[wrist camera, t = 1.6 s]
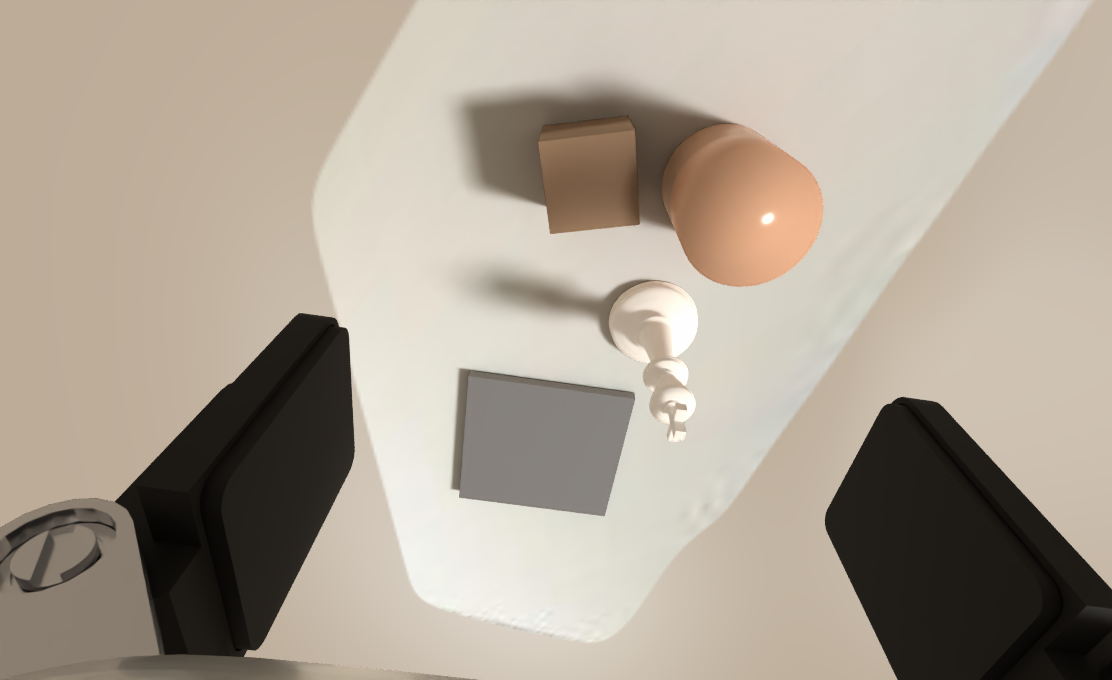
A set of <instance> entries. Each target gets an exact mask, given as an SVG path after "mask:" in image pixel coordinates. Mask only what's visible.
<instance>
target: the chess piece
mask: <svg viewBox="0 0 1112 680" xmlns="http://www.w3.org/2000/svg"><path fill="white" fill-rule="evenodd" d="M697 327H698V318H697V310H696V306H695V304H694V302H693V300H692V299H691V297H690V296H689V295H688V294H687V293H686V292H685V291H684V290H683V289H681V288H680V287H678V286H676V285H674V284H671V283H667V282H661V281H650V282H645V283H641V284H638V285H635V286H633V287H631V288H630V289H628V290H627V291H625V292H624V293H623V294H622V295H621V296H620V297H619V298H618V299H617V300H616V302H615V303H614V305H613V307H612V309H611V312H610V316H609V329H610V333H611V336H612V338H613V341H614V343H615V344H616V346H617V347H618V349H619V350H620V351H621V352H622V353H623V354H625V355H626V356H628V357H629V358H631V359H633V360H636V361H639V362H644V363H649V364H648V365H647V366H646V368H645V370H644V372H643V380H644V383H645V385H646V386H647V387H648V389H649V390H650V391H652V392H653V394H652V396H651V399H650V411H651V413H652V415H653V416H654V417H655V418H656V419H657V420H658V421H660V422H663V423H666V424H670V425H669V428H668V432H667V437H668V441H674V442H678V441H679V440H684V439H685V435H686V428H685V424H684V421H685V420H686V419H688V418H689V417H690V416H691V415H692V414H693V412H694V410H695V406H696V401H695V397H694V395H693V394H692V392H691V391H690V390H689V389H688V388H687V387H686V386H685V384H686V382H687V379H688V369H687V367H686V365H685V364H684V363H683V362H682V361H681V360H680V359H678V358H675V357H676V356H678V355H680V354H681V353H682V352H683V351H685V350H686V349H687V348H688V346H689V345H690V344H691V342H692V341H693V339H694V337H695V335H696V332H697Z"/></svg>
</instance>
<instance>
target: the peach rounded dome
mask: <svg viewBox="0 0 1112 680" xmlns="http://www.w3.org/2000/svg"><path fill="white" fill-rule="evenodd" d="M662 197H663V201H664V205H665V208H666V210H667V212H668V215H669V217H670V219H671V222H672V224H673V226H674V229H675V231H676V233H677V236H678V238H679V240H680V243H681V245H682V247H683V250H684V252H685V254H686V256H687V258H688V260H689V261H690V263H691V264H692V265H693V267H694V268H695V269H696V270H697V271H698V272H700V273H701V274H702V275H704V276H705V277H706V278H708V279H710V280H712V281H714V282H717V283H720V284H723V285H728V286H737V287H742V286H753V285H758V284H762V283H765V282H768V281H771V280H773V279H775V278H777V277H779V276H781V275H783V274H784V273H786V272H787V271H789V270H790V269H791V268H793V267H794V266H795V265H796V264H797V263H798V262H799V261H800V260H801V259H802V258H803V257H804V256H805V255H806V254H807V252H808V251H809V250H810V248H811V246H812V245H813V243H814V242H815V239H816V237H817V235H818V233H819V230H820V227H821V223H822V217H823V199H822V194H821V190H820V188H819V185H818V183H817V181H816V179H815V178H814V176H813V175H812V173H811V172H810V171H809V170H808V169H807V168H806V167H805V166H804V165H803V164H801V163H800V162H799V161H797V160H796V159H794V158H793V157H792V156H790V155H789V154H787V153H786V152H784V151H783V150H781V149H780V148H779V147H777V146H776V145H774V144H773V143H771V142H770V141H768V140H767V139H766V138H764V137H763V136H761V135H760V134H758V133H757V132H755V131H753V130H752V129H750V128H747V127H745V126H741V125H737V124H718V125H713V126H709V127H706V128H704V129H702V130H699V131H697V132H696V133H694V134H692V135H691V136H689V137H688V138H687V139H686V140H684V141H683V142H682V143H681V144H680V145H679V146H678V148H677V149H676V150H675V151H674V153H673V154H672V156H671V157H670V159H669V161H668V163H667V165H666V168H665V171H664V174H663V180H662Z"/></svg>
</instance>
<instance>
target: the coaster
mask: <svg viewBox="0 0 1112 680" xmlns="http://www.w3.org/2000/svg"><path fill="white" fill-rule="evenodd" d="M634 401H635V395H634V393H630V392H623V391H615V390H608V389H601V388H593V387H586V386H579V385H572V384H564V383H557V382H550V381H542V380H535V379H528V378H521V377H513V376H506V375H499V374H491V373H484V372H477V371H470V373H469V376H468V388H467V401H466V414H465V428H464V441H463V454H462V467H461V481H460V494H459V498H467V499H475V500H483V501H490V502H498V503H506V504H514V505H522V506H529V507H537V508H545V509H553V510H561V511H568V512H576V513H584V514H592V515H600V516H605V512H606V509H607V505H608V501H609V497H610V493H611V489H612V486H613V482H614V478H615V474H616V470H617V466H618V463H619V459H620V455H621V451H622V447H623V443H624V439H625V436H626V432H627V428H628V424H629V420H630V416H631V413H632V409H633V405H634Z"/></svg>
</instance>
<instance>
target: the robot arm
mask: <svg viewBox="0 0 1112 680" xmlns="http://www.w3.org/2000/svg"><path fill="white" fill-rule="evenodd" d="M354 448H355V446H354V426H353V408H352V388H351V367H350V348H349V334H348V330H347V329H346V328H343V327H339V325H338V322H337V320H336V319H335V318H332V317H325V316H318V315H311V314H303V313H299V314H298V315H296V316H295V317H294V318H293V319H292V320H291V322H290V323H289V324H288V325H287V326H286V327H285V328H284V329H283V330H282V331H281V332H280V333H279V334H278V335H277V336H276V337H275V338H274V339H273V341H272V342H271V343H270V344H269V345H268V346H267V347H266V348H265V349H264V350H263V351H262V352H261V353H260V354H259V356H258V357H257V358H256V359H255V360H254V361H253V362H252V363H251V364H250V365H249V366H248V367H247V368H246V369H245V370H244V372H242V373H241V374H240V376H239V377H238V378H237V379H236V380H235V381H234V382H233V383H232V384H228V385H227V386H226V387H225V388H223V389H222V390H221V391H220V392H219V393H218V394H217V395H216V396H215V397H214V398H213V399H212V400H211V402H210V403H209V404H208V405H207V406H206V407H205V408H204V409H203V410H202V411H201V412H200V413H199V414H198V415H197V416H196V417H195V418H194V420H192V422H190V424H189V425H188V426H187V427H186V428H185V429H184V430H183V431H182V432H181V433H180V434H179V435H178V436H177V437H176V438H175V439H174V440H173V441H172V442H171V443H170V444H169V446H168V447H167V448H166V449H165V450H164V451H163V452H162V453H161V454H160V455H159V456H158V457H157V458H156V459H155V460H154V461H153V462H152V463H151V465H149V466H148V468H147V469H146V470H145V471H144V472H143V473H142V474H141V475H140V476H139V477H138V478H137V479H136V480H135V481H134V482H133V483H132V484H131V485H130V486H129V488H128V489H127V490H126V491H125V492H124V493H123V494H122V495H121V496H120V497H119V498H118V499H117V500H116V501H115V502H113V501H108V500H102V499H98V498H88V499H72V500H67V501H63V502H58V503H54V504H49V505H47V506H44V507H41V508H39V509H36V510H33V511H31V512H28V513H25V514H23V515H22V516H20V517H18V518H16V519H14V520H13V521H11V522H9V523H7V524H5V525H4V526H2V527H0V680H475V679H465V678H456V677H447V676H438V675H429V674H420V673H411V672H402V671H392V670H382V669H372V668H361V667H350V666H339V665H329V664H318V663H307V662H297V661H286V660H275V659H264V658H251V657H244V655H245V653H246V651H247V650H257V649H258V648H259V647H260V646H261V645H262V643H263V642H264V640H265V638H266V636H267V634H268V632H269V630H270V628H271V626H272V624H273V622H274V620H275V618H276V616H277V614H278V612H279V610H280V608H281V606H282V604H283V602H284V600H285V598H286V596H287V594H288V592H289V590H290V588H291V586H292V584H293V582H294V580H295V578H296V576H297V575H298V572H299V571H300V569H301V567H302V565H303V563H304V561H305V559H306V557H307V554H308V553H309V551H310V549H311V547H312V545H313V543H314V541H315V538H316V537H317V535H318V533H319V531H320V529H321V527H322V525H323V523H324V521H325V519H326V517H327V515H328V513H329V511H330V509H331V507H332V505H333V503H334V501H335V499H336V497H337V495H338V493H339V491H340V489H341V487H342V485H343V483H344V481H345V479H346V477H347V475H348V473H349V471H350V469H351V466H352V463H353V459H354V452H355V450H354ZM825 526H826V530H827V533H828V535H829V537H830V539H831V541H832V544H833V546H834V548H835V550H836V552H837V554H838V556H839V558H840V560H841V562H842V564H843V567H844V568H845V571H846V573H847V575H848V577H849V579H850V581H851V583H852V585H853V587H854V590H855V592H856V594H857V596H858V598H859V600H860V602H861V604H862V606H863V608H864V610H865V613H866V615H867V617H868V619H869V621H870V623H871V625H872V627H873V629H874V631H875V633H876V636H877V638H878V640H879V642H880V644H881V646H882V648H883V650H884V652H885V654H886V656H887V658H888V661H889V663H890V665H891V667H892V669H893V671H894V673H895V675H896V677H897V679H898V680H1112V589H1111V588H1110V587H1109V586H1108V585H1107V584H1106V583H1105V582H1104V580H1103V579H1102V578H1101V577H1100V576H1099V575H1098V574H1097V573H1096V572H1095V571H1094V570H1093V569H1092V568H1091V566H1090V565H1089V564H1088V563H1087V562H1086V561H1085V560H1084V559H1083V558H1082V557H1081V556H1080V555H1079V553H1078V552H1077V551H1076V550H1075V549H1074V548H1073V547H1072V546H1071V545H1070V544H1069V543H1068V542H1067V541H1066V539H1065V538H1064V537H1063V536H1062V535H1061V534H1060V533H1059V532H1058V531H1057V530H1056V529H1055V528H1054V526H1053V525H1052V524H1051V523H1050V522H1049V521H1048V520H1047V519H1046V518H1045V517H1044V516H1043V515H1042V514H1041V512H1040V511H1039V510H1038V509H1037V508H1036V507H1035V506H1034V505H1033V504H1032V503H1031V502H1030V501H1029V499H1028V498H1027V497H1026V496H1025V495H1024V494H1023V493H1022V492H1021V491H1020V490H1019V489H1018V488H1017V487H1016V486H1015V484H1014V483H1013V482H1012V481H1011V480H1010V479H1009V478H1008V477H1007V476H1006V475H1005V474H1004V472H1003V471H1002V470H1001V469H1000V468H999V467H998V466H997V465H996V464H995V463H994V462H993V461H992V460H991V458H990V457H989V456H988V455H986V453H985V452H984V451H983V450H982V449H981V448H980V447H979V445H977V443H976V442H975V441H974V440H973V439H972V438H971V437H970V436H969V435H968V434H967V433H966V431H965V430H964V429H963V428H962V427H961V426H960V425H959V424H958V423H957V422H956V421H955V420H954V418H952V416H951V415H950V414H949V413H948V412H947V411H946V410H945V409H944V408H943V407H942V406H941V405H940V404H939V403H937V402H933V401H927V400H920V399H913V398H906V397H900V398H897V399H896V400H894V401H893V402H892V403H891V404H887V405H885V406H884V407H883V408H882V409H881V411H880V413H879V415H878V416H877V418H876V420H875V422H874V424H873V426H872V428H871V429H870V431H869V433H868V435H867V437H866V439H865V441H864V442H863V445H862V446H861V448H860V450H859V452H858V454H857V455H856V457H855V459H854V461H853V463H852V465H851V467H850V468H849V470H848V472H847V474H846V476H845V478H844V480H843V481H842V483H841V485H840V487H839V489H838V491H837V493H836V495H835V496H834V498H833V500H832V502H831V504H830V506H829V507H828V509H827V512H826V516H825Z"/></svg>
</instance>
